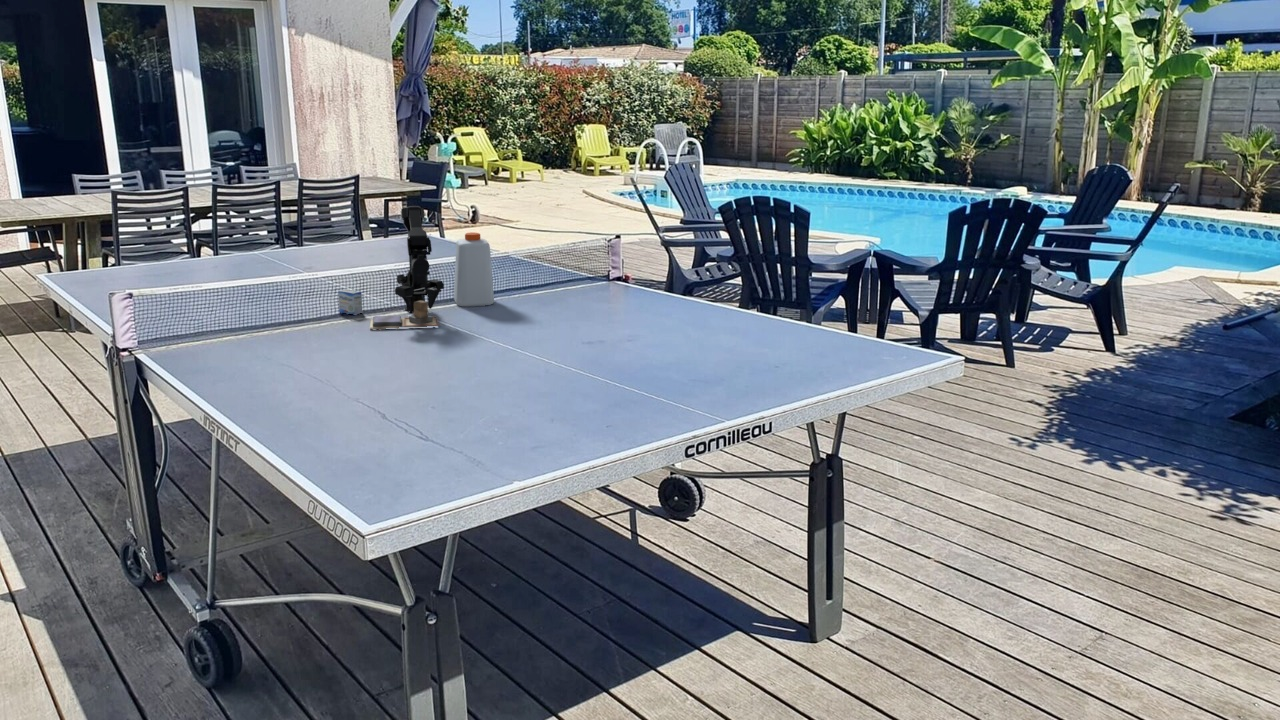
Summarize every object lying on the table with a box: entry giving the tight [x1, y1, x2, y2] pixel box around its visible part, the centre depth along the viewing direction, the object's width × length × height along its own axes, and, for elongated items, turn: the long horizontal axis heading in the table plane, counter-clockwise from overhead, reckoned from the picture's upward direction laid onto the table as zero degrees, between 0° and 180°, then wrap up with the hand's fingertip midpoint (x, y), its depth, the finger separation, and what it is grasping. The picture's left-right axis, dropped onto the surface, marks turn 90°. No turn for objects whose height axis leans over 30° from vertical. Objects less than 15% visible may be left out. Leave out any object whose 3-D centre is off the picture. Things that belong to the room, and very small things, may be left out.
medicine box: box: [337, 288, 363, 314], centre depth 381 cm, size 8×4×9 cm, turn 62°
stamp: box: [409, 300, 434, 325], centre depth 368 cm, size 6×6×8 cm
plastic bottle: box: [453, 231, 495, 308], centre depth 400 cm, size 15×15×28 cm
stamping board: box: [369, 315, 439, 330], centre depth 367 cm, size 24×12×2 cm, turn 103°
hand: (420, 310), depth 367 cm, fingers open, 9 cm apart
